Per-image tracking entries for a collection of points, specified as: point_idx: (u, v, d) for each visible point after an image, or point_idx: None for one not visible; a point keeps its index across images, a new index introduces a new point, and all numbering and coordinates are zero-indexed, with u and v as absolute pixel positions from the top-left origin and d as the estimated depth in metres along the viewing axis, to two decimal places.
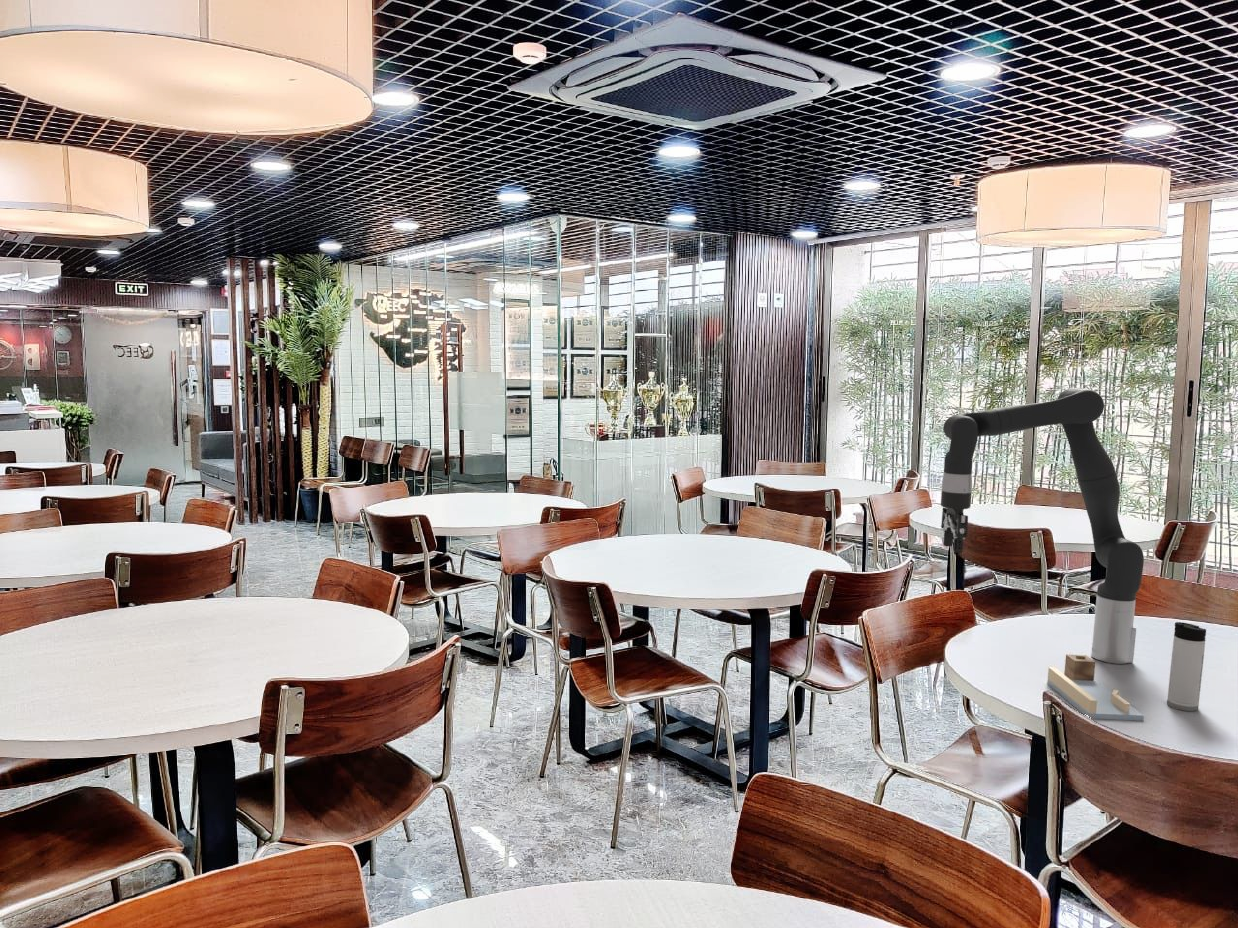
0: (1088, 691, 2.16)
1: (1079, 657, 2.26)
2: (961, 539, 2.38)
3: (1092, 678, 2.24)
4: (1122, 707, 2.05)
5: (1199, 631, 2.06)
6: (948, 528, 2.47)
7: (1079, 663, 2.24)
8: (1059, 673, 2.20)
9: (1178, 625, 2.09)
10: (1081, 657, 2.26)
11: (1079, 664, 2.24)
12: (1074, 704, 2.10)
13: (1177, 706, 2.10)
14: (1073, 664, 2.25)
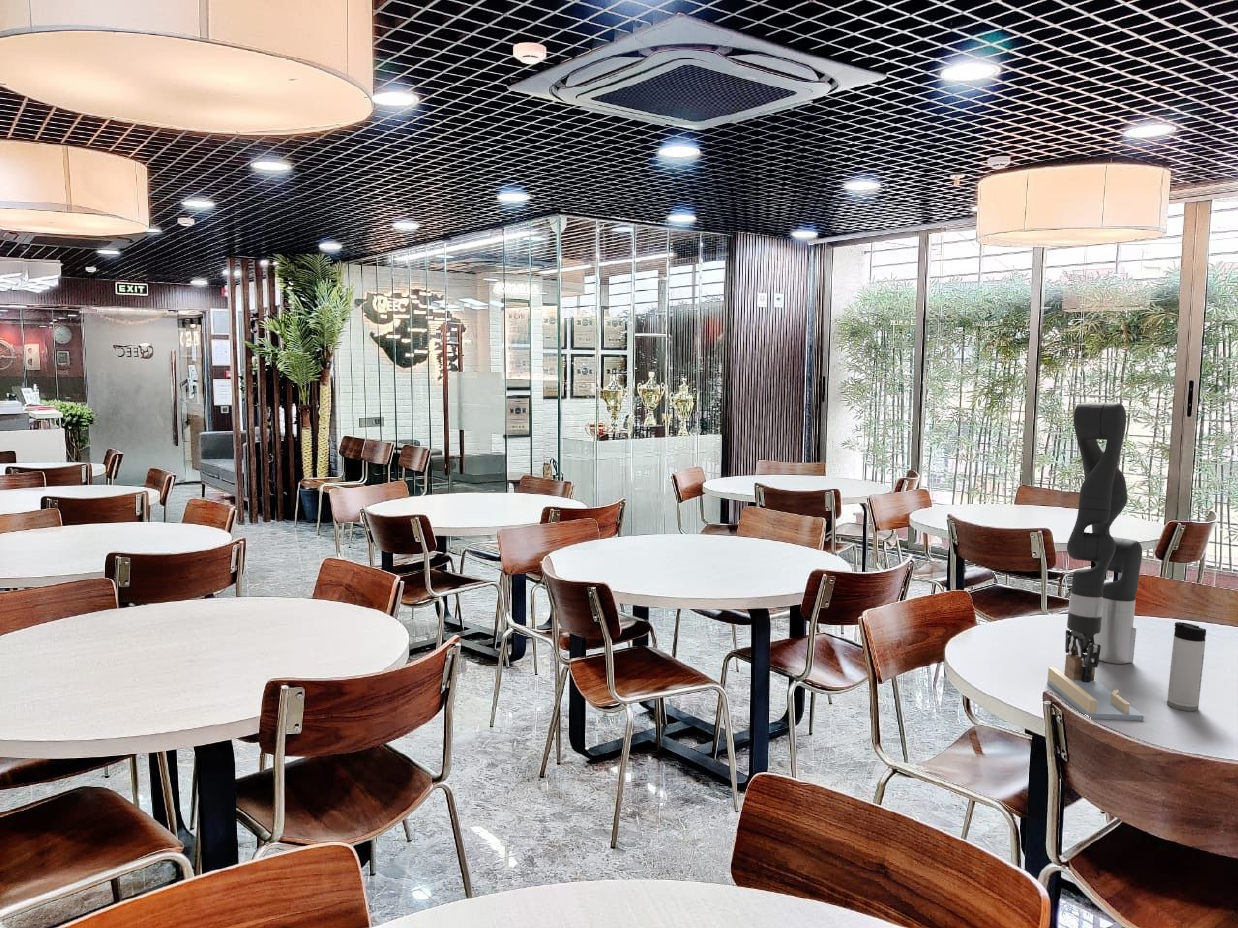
0: (1088, 691, 2.16)
1: (1079, 657, 2.26)
2: (1090, 668, 2.22)
3: (1092, 678, 2.24)
4: (1122, 707, 2.05)
5: (1199, 631, 2.06)
6: (1074, 653, 2.30)
7: (1080, 663, 2.24)
8: (1059, 673, 2.20)
9: (1178, 625, 2.09)
10: None
11: (1079, 664, 2.24)
12: (1074, 704, 2.10)
13: (1177, 706, 2.10)
14: (1073, 664, 2.25)
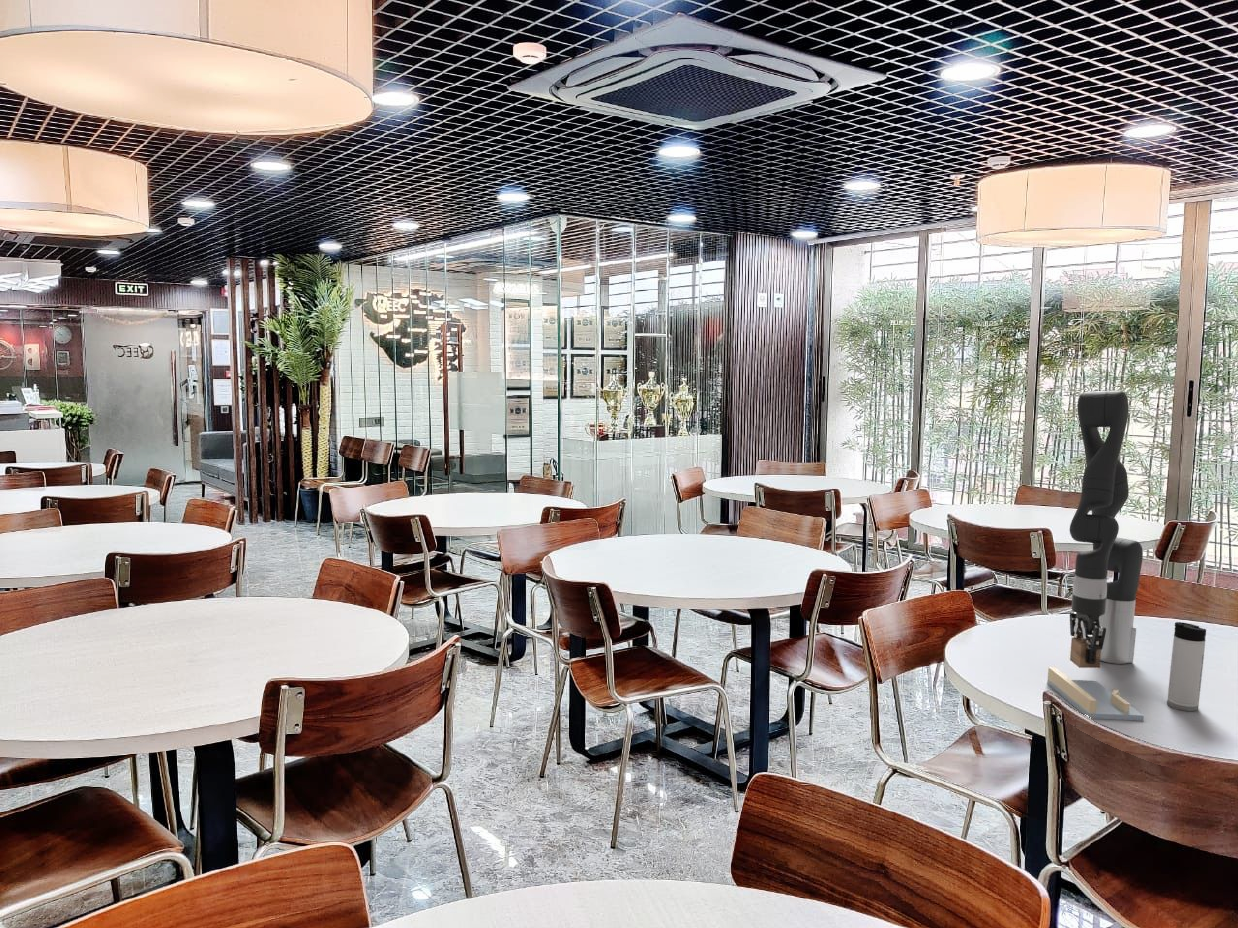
0: (1088, 691, 2.16)
1: (1085, 640, 2.25)
2: (1095, 650, 2.22)
3: (1098, 661, 2.24)
4: (1122, 707, 2.05)
5: (1199, 631, 2.06)
6: (1079, 636, 2.29)
7: None
8: (1059, 673, 2.20)
9: (1178, 625, 2.09)
10: None
11: (1085, 648, 2.23)
12: (1074, 704, 2.10)
13: (1177, 706, 2.10)
14: (1079, 648, 2.24)
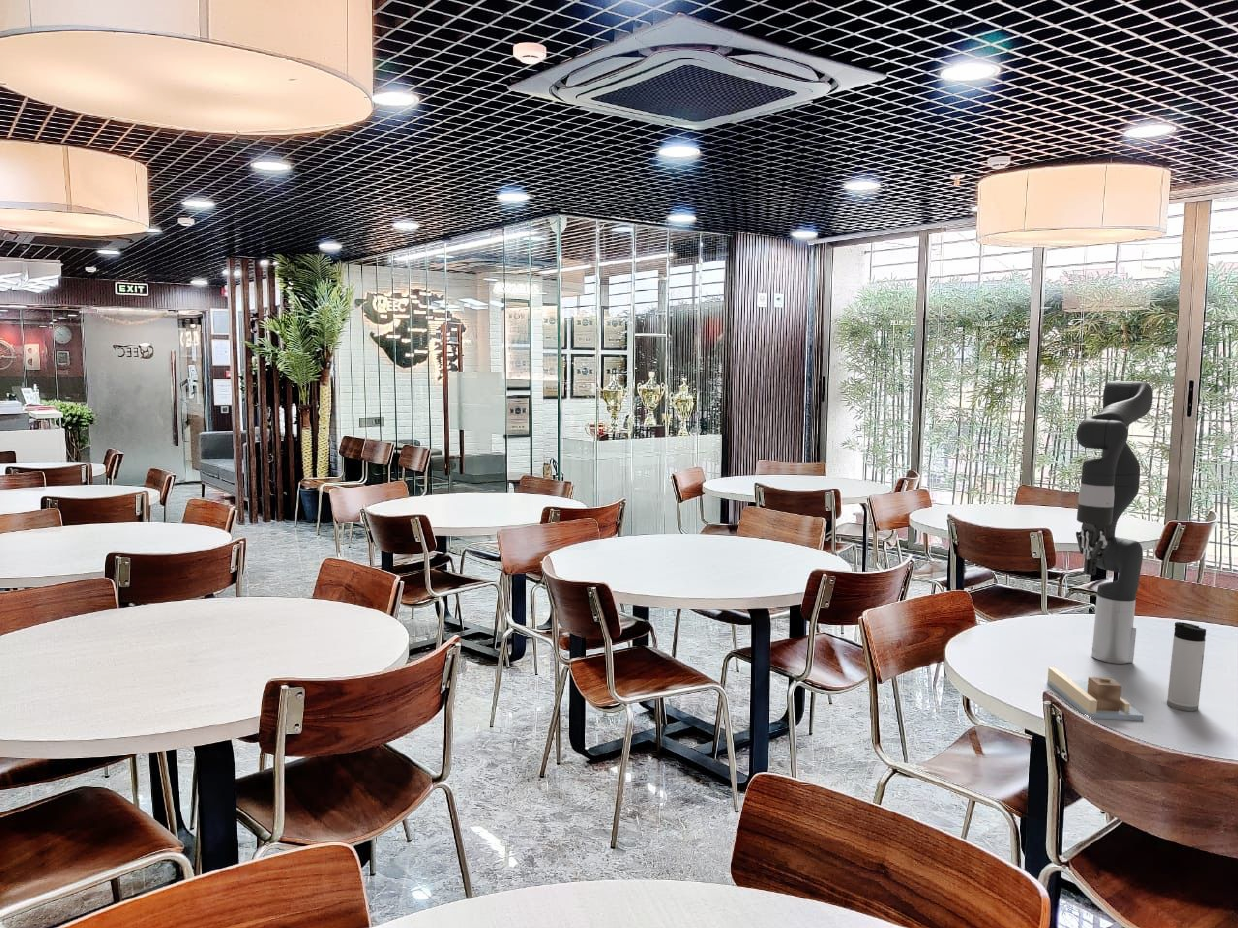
0: None
1: (1103, 680, 2.06)
2: (1095, 560, 2.15)
3: (1118, 704, 2.04)
4: (1122, 707, 2.05)
5: (1199, 631, 2.06)
6: None
7: (1104, 687, 2.04)
8: (1059, 673, 2.20)
9: (1178, 625, 2.09)
10: (1105, 680, 2.06)
11: (1103, 689, 2.04)
12: (1074, 704, 2.10)
13: (1177, 706, 2.10)
14: (1097, 688, 2.04)
